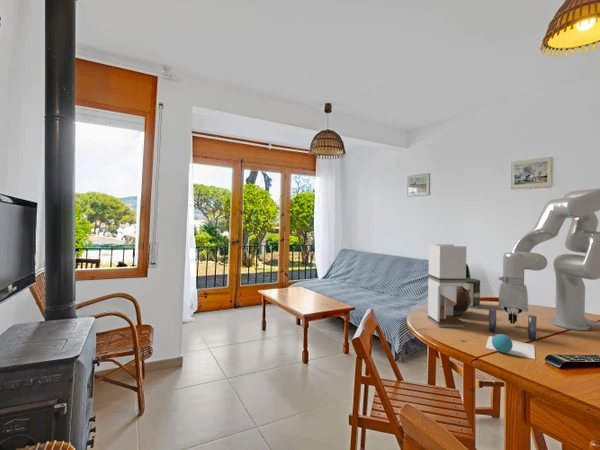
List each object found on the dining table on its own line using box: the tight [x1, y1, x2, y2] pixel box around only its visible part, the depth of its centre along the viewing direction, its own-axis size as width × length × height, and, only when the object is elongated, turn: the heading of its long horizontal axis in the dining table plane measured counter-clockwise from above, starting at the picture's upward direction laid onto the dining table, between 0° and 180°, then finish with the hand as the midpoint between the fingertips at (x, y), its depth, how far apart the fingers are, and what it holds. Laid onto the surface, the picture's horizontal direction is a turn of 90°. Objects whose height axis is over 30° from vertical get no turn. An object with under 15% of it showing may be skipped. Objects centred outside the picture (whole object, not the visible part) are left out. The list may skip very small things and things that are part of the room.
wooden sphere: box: [453, 286, 471, 316], centre depth 146 cm, size 15×15×15 cm
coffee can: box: [462, 277, 481, 309], centre depth 161 cm, size 10×10×14 cm
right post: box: [527, 314, 538, 341], centre depth 115 cm, size 2×2×9 cm
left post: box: [488, 308, 497, 333], centre depth 123 cm, size 2×2×9 cm
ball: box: [492, 333, 513, 353], centre depth 103 cm, size 6×6×6 cm
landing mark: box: [485, 335, 536, 360], centre depth 108 cm, size 14×14×1 cm
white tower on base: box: [427, 243, 467, 328], centre depth 132 cm, size 11×11×35 cm
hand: (512, 322), depth 129 cm, fingers closed
